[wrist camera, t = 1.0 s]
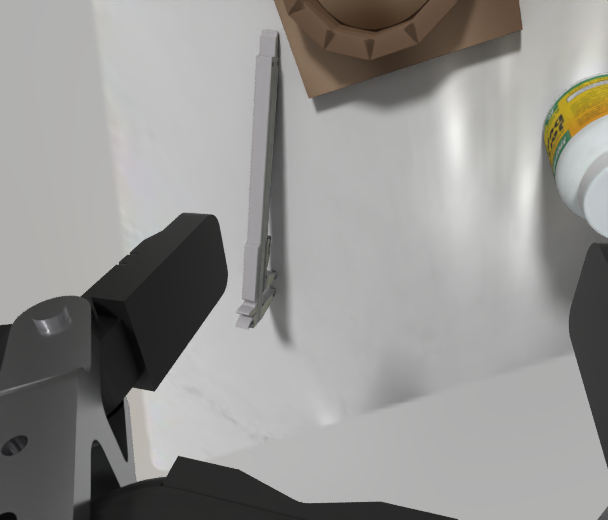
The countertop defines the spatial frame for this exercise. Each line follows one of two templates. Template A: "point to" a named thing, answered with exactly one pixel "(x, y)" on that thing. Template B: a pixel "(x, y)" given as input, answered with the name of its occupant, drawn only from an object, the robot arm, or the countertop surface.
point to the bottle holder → (384, 34)
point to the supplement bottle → (581, 148)
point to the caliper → (260, 187)
